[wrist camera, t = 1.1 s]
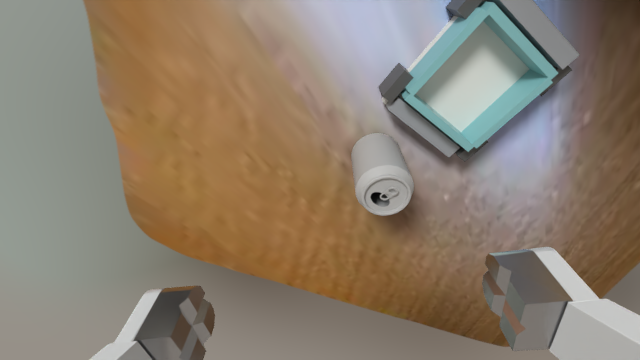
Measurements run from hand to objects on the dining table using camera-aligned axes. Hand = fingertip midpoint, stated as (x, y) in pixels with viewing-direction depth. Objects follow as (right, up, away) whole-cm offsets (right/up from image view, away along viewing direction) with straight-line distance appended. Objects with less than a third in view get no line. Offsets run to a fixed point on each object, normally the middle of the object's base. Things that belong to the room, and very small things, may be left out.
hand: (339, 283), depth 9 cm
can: (+8, +7, +40) cm, 41 cm away
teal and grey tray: (+19, +17, +33) cm, 41 cm away
